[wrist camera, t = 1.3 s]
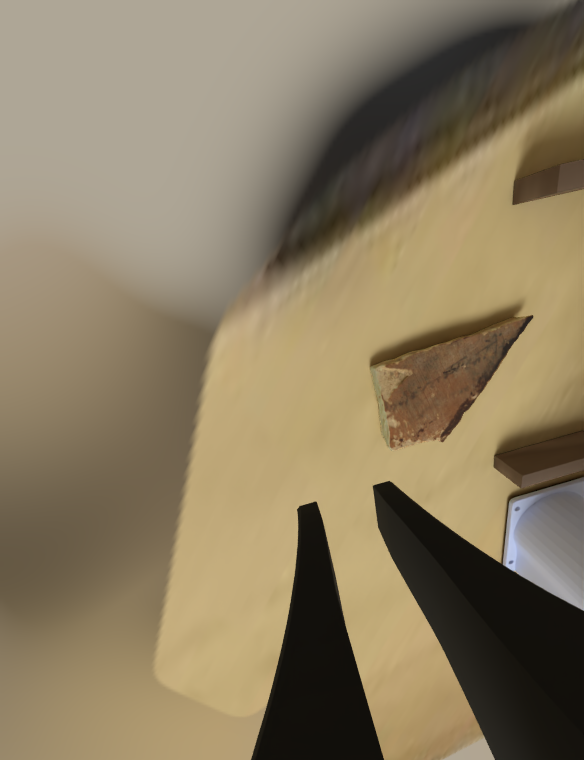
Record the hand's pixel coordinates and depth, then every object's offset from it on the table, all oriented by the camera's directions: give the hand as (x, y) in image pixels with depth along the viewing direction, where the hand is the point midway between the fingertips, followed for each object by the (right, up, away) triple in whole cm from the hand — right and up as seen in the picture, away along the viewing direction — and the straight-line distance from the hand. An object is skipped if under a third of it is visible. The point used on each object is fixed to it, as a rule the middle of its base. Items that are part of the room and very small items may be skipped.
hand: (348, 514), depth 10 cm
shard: (+7, +6, +10) cm, 14 cm away
